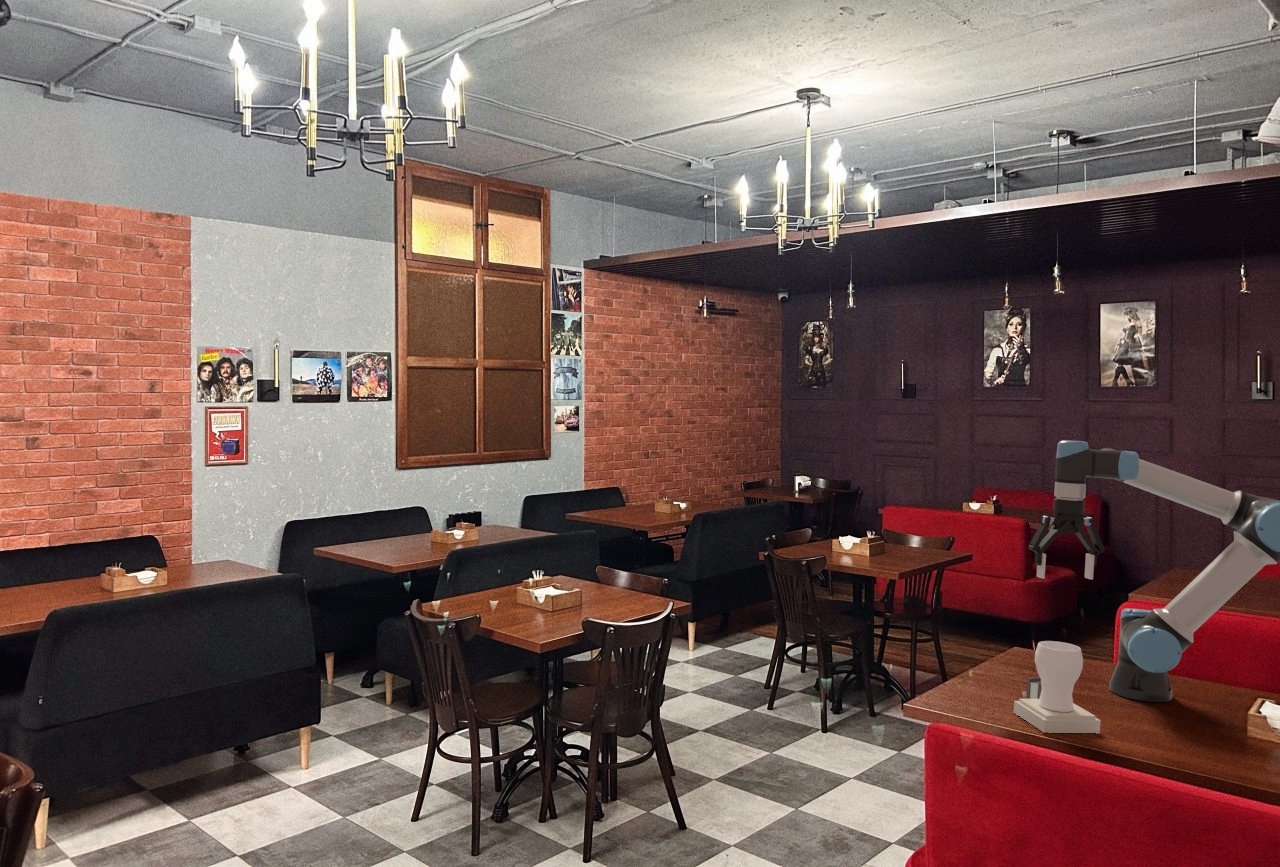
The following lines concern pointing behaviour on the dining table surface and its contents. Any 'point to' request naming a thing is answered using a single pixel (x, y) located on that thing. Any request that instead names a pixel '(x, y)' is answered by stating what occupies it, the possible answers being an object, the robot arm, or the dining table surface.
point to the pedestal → (1057, 718)
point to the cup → (1058, 673)
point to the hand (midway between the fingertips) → (1064, 578)
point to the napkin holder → (1033, 688)
